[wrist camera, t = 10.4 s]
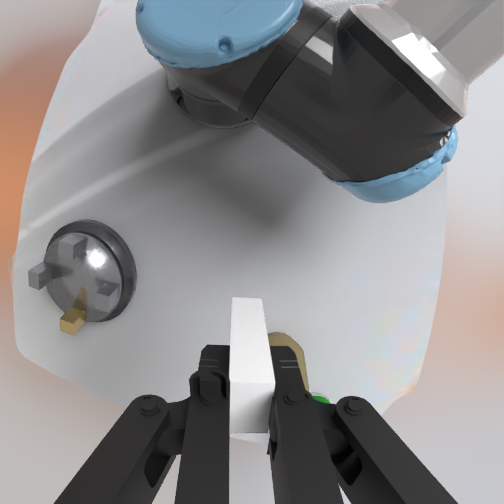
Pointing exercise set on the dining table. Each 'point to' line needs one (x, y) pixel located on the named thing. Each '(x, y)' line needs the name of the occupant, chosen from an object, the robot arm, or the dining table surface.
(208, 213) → the dining table surface
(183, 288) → the dining table surface
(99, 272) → the four-lug metal disc
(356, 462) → the robot arm
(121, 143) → the dining table surface
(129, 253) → the mounting flange
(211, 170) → the dining table surface
